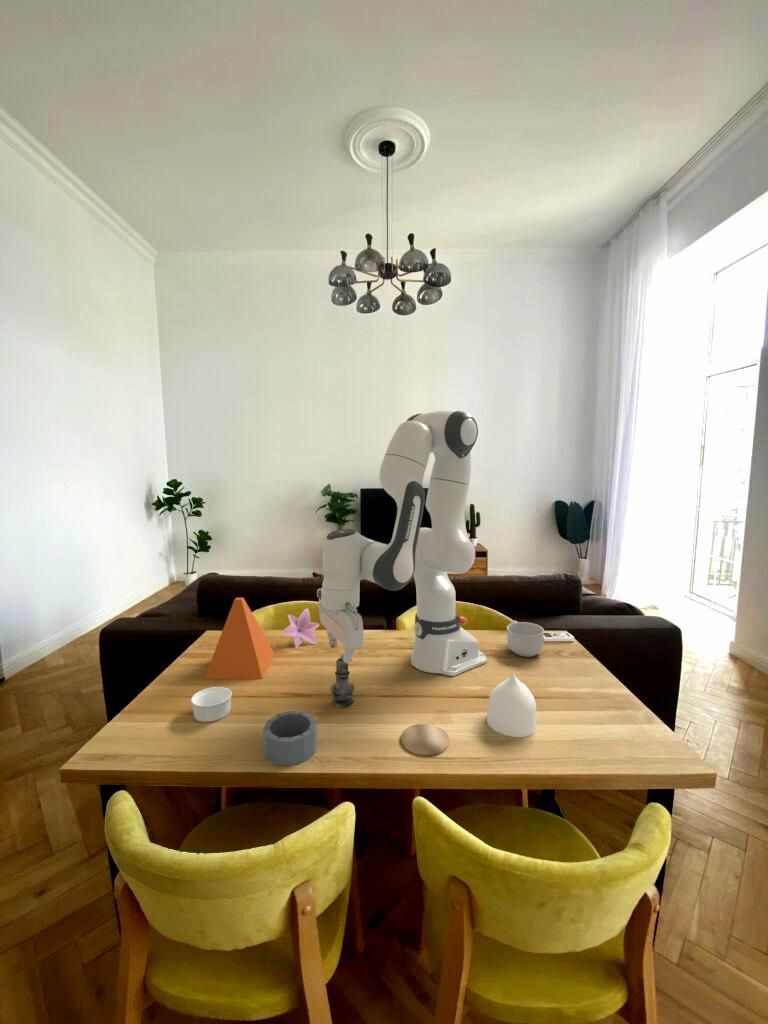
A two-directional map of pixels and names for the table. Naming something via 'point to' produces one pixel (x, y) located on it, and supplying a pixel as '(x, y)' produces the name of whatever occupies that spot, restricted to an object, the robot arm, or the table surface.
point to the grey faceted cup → (290, 738)
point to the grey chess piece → (342, 686)
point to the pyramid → (240, 647)
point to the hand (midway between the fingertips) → (339, 653)
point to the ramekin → (211, 704)
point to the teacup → (525, 638)
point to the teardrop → (512, 709)
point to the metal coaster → (425, 739)
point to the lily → (301, 628)
